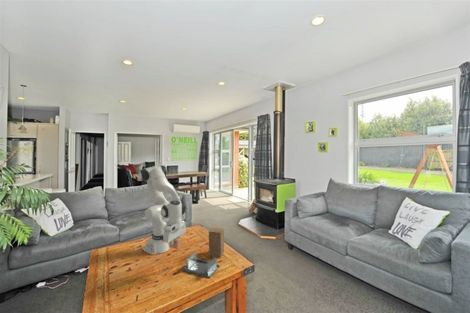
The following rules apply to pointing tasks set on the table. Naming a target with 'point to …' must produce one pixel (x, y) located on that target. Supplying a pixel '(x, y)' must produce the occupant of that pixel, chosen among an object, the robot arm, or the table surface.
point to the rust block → (176, 243)
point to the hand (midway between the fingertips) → (175, 243)
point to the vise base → (203, 267)
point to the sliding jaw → (191, 260)
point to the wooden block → (216, 242)
